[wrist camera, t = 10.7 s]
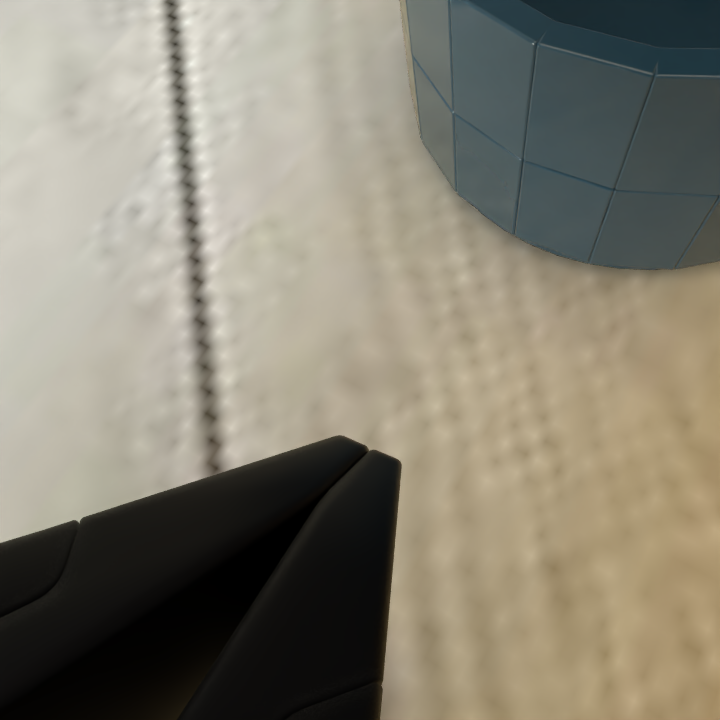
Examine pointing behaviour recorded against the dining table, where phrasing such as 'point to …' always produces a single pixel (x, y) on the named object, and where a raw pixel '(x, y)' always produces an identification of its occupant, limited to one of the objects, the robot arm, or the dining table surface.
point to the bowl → (577, 121)
